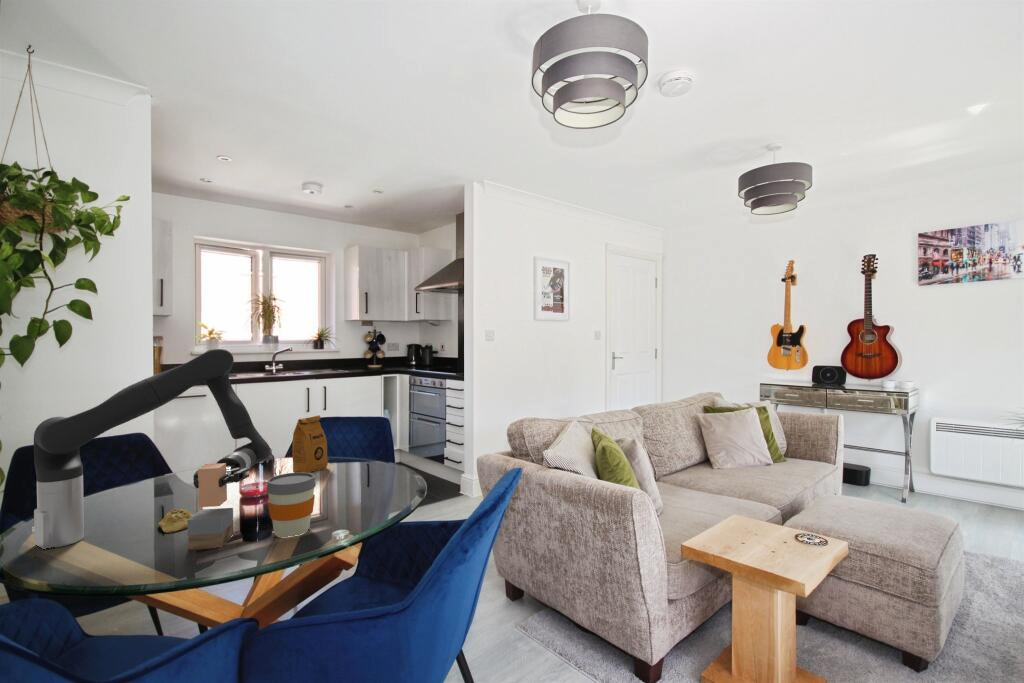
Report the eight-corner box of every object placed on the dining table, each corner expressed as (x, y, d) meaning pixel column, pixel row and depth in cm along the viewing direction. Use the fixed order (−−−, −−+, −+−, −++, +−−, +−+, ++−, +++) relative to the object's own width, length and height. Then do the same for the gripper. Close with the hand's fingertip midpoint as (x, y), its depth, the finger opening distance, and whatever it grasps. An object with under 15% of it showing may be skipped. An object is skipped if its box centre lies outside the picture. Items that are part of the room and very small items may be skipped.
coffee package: (331, 468, 208) (330, 415, 208) (306, 476, 197) (305, 419, 197) (314, 465, 213) (314, 413, 213) (289, 473, 202) (288, 418, 202)
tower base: (222, 548, 131) (222, 532, 131) (188, 550, 129) (188, 535, 129) (233, 536, 139) (233, 521, 139) (201, 538, 137) (201, 523, 137)
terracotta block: (219, 506, 132) (218, 468, 132) (198, 507, 131) (197, 469, 131) (227, 499, 137) (226, 463, 137) (207, 501, 136) (206, 464, 136)
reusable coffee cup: (268, 527, 144) (268, 474, 144) (315, 520, 149) (315, 470, 149) (265, 543, 133) (264, 487, 133) (316, 536, 137) (315, 481, 137)
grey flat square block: (221, 533, 130) (221, 518, 130) (187, 535, 129) (187, 520, 129) (233, 522, 138) (233, 507, 138) (201, 524, 137) (201, 509, 137)
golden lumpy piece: (196, 507, 144) (153, 513, 140) (196, 528, 143) (153, 535, 139) (201, 505, 154) (162, 511, 150) (201, 525, 153) (161, 532, 149)
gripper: (206, 455, 147) (177, 471, 130) (258, 452, 149) (237, 468, 132) (206, 480, 147) (178, 500, 130) (259, 478, 149) (238, 496, 133)
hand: (208, 483), depth 131 cm, fingers closed on terracotta block, 5 cm apart
